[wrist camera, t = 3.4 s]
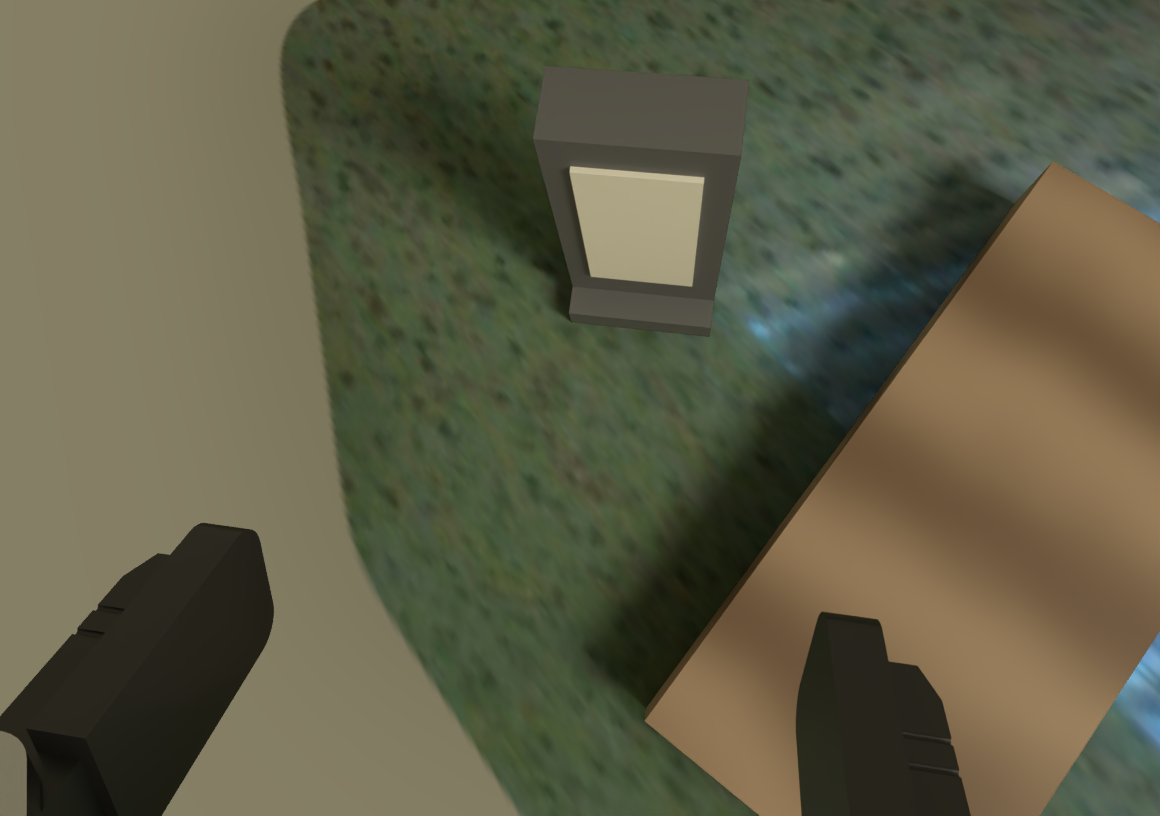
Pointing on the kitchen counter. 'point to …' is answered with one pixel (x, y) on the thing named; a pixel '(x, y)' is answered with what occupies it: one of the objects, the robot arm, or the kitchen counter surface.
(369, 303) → the kitchen counter surface
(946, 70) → the kitchen counter surface
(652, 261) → the picture frame
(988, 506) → the wooden block
